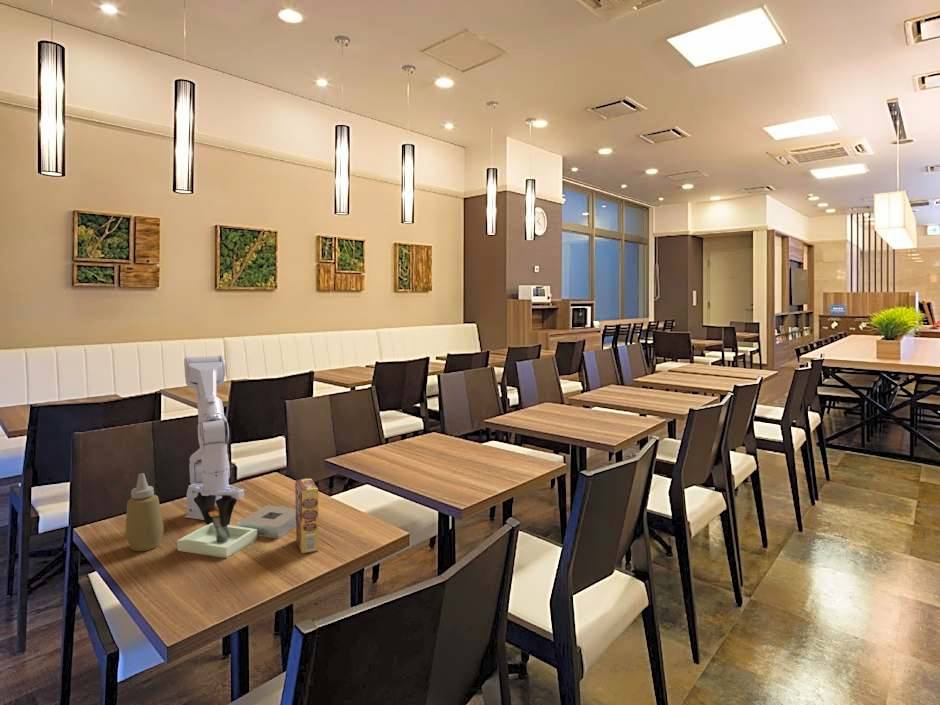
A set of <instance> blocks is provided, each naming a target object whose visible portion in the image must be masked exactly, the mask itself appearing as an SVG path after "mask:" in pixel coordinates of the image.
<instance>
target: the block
mask: <svg viewBox="0 0 940 705" xmlns="http://www.w3.org/2000/svg"><path fill="white" fill-rule="evenodd" d="M237 526H238V527H245V528H252V529H257V537H261V538H262V537H264V538H270V539H278V540H279V539H281V538H282V537H284V536H285V535H286V534H288V533H289V532H292V530H294V529H296V508H293V507H284V506H276V505H269V504H266V505H265V506H262V507H261V508H259V509H258V510H256V511H254V512H252V513H250V514H249V515H247V516H245V517H244V518H242V519H239V520H238V521H237Z"/></svg>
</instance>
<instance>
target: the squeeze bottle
mask: <svg viewBox="0 0 940 705" xmlns="http://www.w3.org/2000/svg"><path fill="white" fill-rule="evenodd" d="M154 489H155V488H154V487H153V486H152V485H149V484H148V481H147V478H146V475H145V472H144V473H143V472H142V473H139V474H138V476H137V481H136V487H134V488H133V489H131V490H130V493H131V494H130V495H131V498H129V499H128V500H127V502H126V516H125V517H126V520H125V534H124V535H125V538H126V540H127V541H128V544H129V546H130V549H131V550H132V551H134V552H145V551H148V550H153V549H155V548H156V547H158V546H159V545H160V544H161V540H162V538H163V537H162V536H163V534H164V530H165V528H164V522H163V521H164V520H163V516H162V510H161V505H160V499H159V496H158V495H156V494H155V490H154Z"/></svg>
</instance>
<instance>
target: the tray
mask: <svg viewBox="0 0 940 705" xmlns="http://www.w3.org/2000/svg"><path fill="white" fill-rule="evenodd" d="M227 526H228V531H229V536H230V538H229V539H228V540H226V541H224V542H217V540H216V535H215V530H214V525H213V522H212V523H211V524H209V525H206V524H205V525H204V526H201V527H199V528H198V529H196V530H194V531H192V532H189V533H188V534H186V535H185V536H183V537H181V538H179V539H177V540H176V543H177V545H176V546H177V551H179V552H184V553H185V552H186V553H192V554H198V555H203V556H204V555H205V556H211V557H216V558H222V559H228V558H230V557H231V556H233V555H234V554H236V553H238V552H239V551H241V550H242V549H244V548H245V547H247V546H248V545H250V544H251V543H254V542H255V541H256V540H258V536H257V529H252V528H245V527H238V525H231V524H229V525H227Z"/></svg>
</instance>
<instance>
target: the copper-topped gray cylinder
mask: <svg viewBox="0 0 940 705" xmlns="http://www.w3.org/2000/svg"><path fill="white" fill-rule="evenodd" d="M208 514H209V516H211V517H212V520H213V522H212V523H213V525H214V530H215V535H216V540H217V542H224V541H226V540H228V539H229V538H230V536H229V531H228V526H225V527H221V523H220V513H219V509H218V506H214V507H212V508H210V509H209V510H208Z"/></svg>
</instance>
